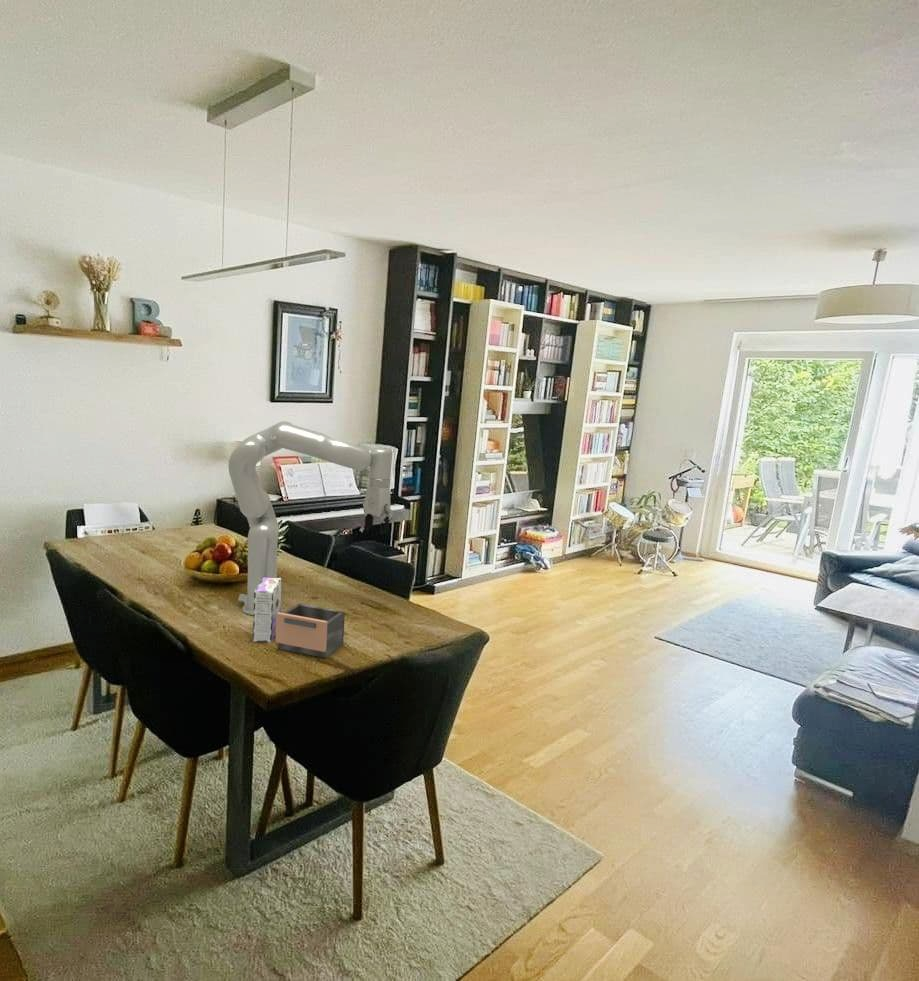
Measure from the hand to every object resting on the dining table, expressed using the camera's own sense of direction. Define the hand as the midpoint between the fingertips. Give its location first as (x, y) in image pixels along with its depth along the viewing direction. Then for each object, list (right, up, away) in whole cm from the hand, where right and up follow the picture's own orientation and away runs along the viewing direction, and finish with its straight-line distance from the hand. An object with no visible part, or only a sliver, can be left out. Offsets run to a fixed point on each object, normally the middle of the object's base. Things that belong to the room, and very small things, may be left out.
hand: (376, 530), depth 219 cm
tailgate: (-17, -32, -38) cm, 52 cm away
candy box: (-31, -31, -24) cm, 51 cm away
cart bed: (-16, -33, -32) cm, 49 cm away
